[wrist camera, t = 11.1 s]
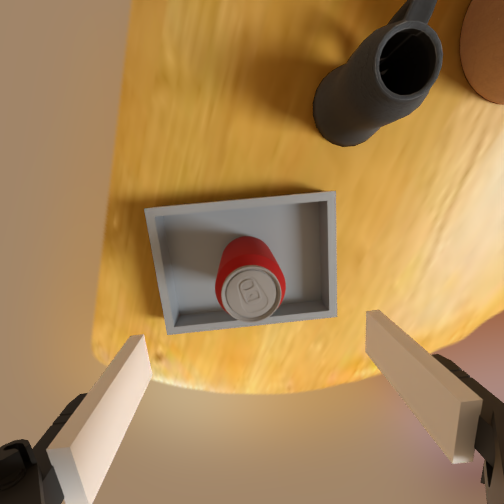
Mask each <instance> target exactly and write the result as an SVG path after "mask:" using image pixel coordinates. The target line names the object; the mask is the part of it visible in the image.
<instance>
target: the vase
mask: <svg viewBox="0 0 504 504" xmlns="http://www.w3.org/2000/svg"><path fill="white" fill-rule="evenodd" d="M460 57H461V63H462V67H463V71H464V73H465V76H466V78H467V80H468V82H469V83H470V85H471V86H472V87H473V89H474V90H475V91H476V92H477V93H478V94H480V95H481V96H482V97H484V98H485V99H487V100H489V101H492V102H495V103H499V104H504V0H472V1H471V3H470V6H469V8H468V10H467V12H466V15H465V18H464V21H463V25H462V30H461V36H460Z"/></svg>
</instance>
